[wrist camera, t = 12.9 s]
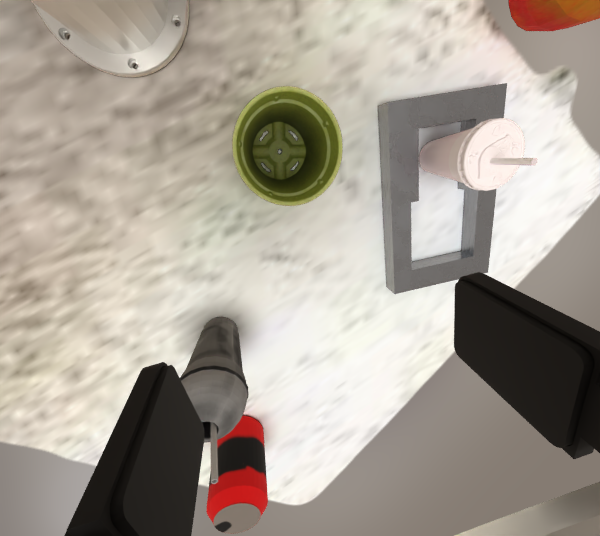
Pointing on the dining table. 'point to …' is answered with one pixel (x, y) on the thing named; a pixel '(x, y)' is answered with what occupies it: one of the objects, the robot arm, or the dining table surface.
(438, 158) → the smoothie
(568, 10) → the apple
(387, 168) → the keyhole plate
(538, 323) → the robot arm
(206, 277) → the dining table surface
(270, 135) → the plant pot
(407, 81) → the dining table surface
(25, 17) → the dining table surface
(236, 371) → the beverage cup
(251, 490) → the soda can
